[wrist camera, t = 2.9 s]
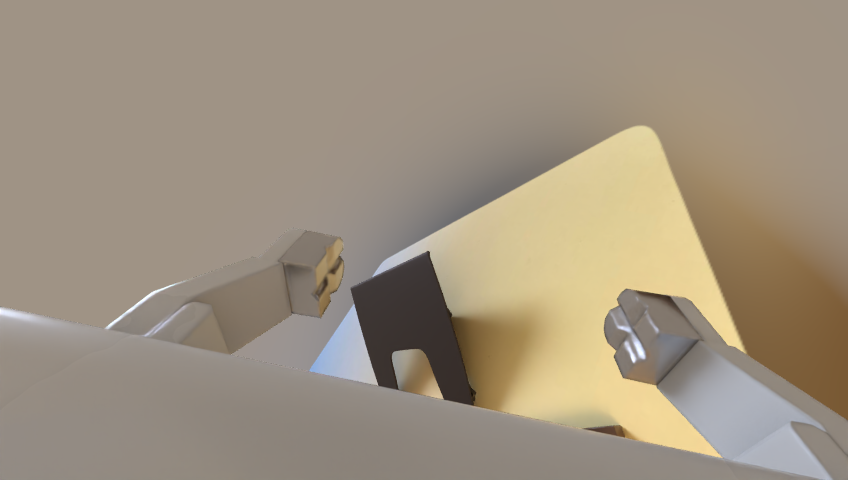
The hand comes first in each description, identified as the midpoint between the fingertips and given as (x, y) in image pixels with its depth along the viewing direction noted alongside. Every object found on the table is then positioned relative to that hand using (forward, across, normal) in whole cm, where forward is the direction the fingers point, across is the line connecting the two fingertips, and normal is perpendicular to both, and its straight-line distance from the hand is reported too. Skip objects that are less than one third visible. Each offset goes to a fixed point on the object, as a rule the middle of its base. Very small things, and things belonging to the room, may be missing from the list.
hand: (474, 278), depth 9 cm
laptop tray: (+25, 0, +37) cm, 45 cm away
